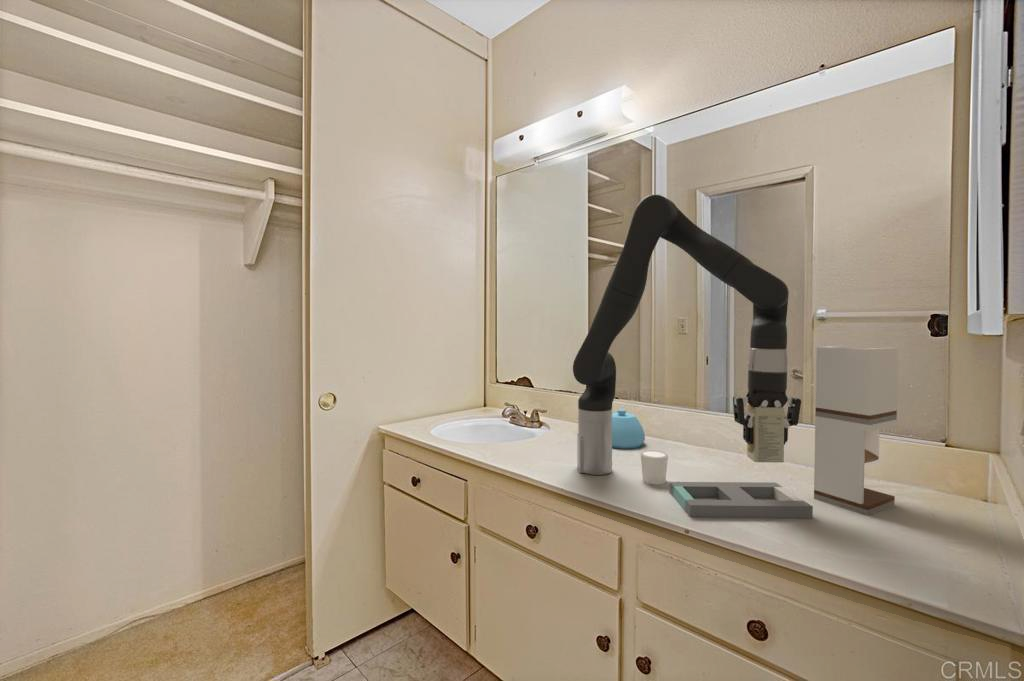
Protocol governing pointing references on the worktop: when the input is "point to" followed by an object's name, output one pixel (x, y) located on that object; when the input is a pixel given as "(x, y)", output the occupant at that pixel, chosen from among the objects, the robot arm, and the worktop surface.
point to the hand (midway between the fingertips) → (765, 443)
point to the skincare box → (767, 435)
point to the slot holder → (739, 500)
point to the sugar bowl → (626, 430)
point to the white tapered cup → (654, 466)
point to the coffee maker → (852, 422)
